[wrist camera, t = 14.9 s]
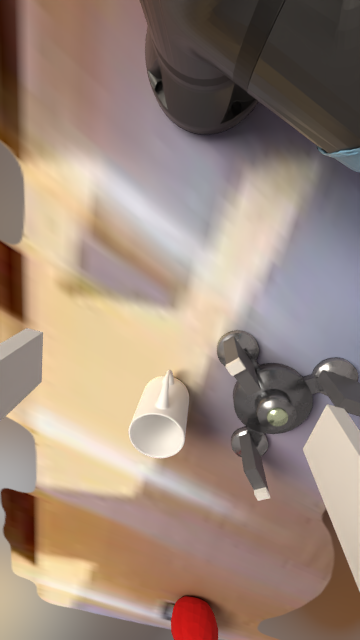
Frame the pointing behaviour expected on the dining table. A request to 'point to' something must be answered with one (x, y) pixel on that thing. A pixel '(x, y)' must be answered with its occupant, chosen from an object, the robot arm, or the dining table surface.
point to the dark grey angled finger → (253, 467)
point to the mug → (161, 417)
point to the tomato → (193, 620)
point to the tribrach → (276, 394)
